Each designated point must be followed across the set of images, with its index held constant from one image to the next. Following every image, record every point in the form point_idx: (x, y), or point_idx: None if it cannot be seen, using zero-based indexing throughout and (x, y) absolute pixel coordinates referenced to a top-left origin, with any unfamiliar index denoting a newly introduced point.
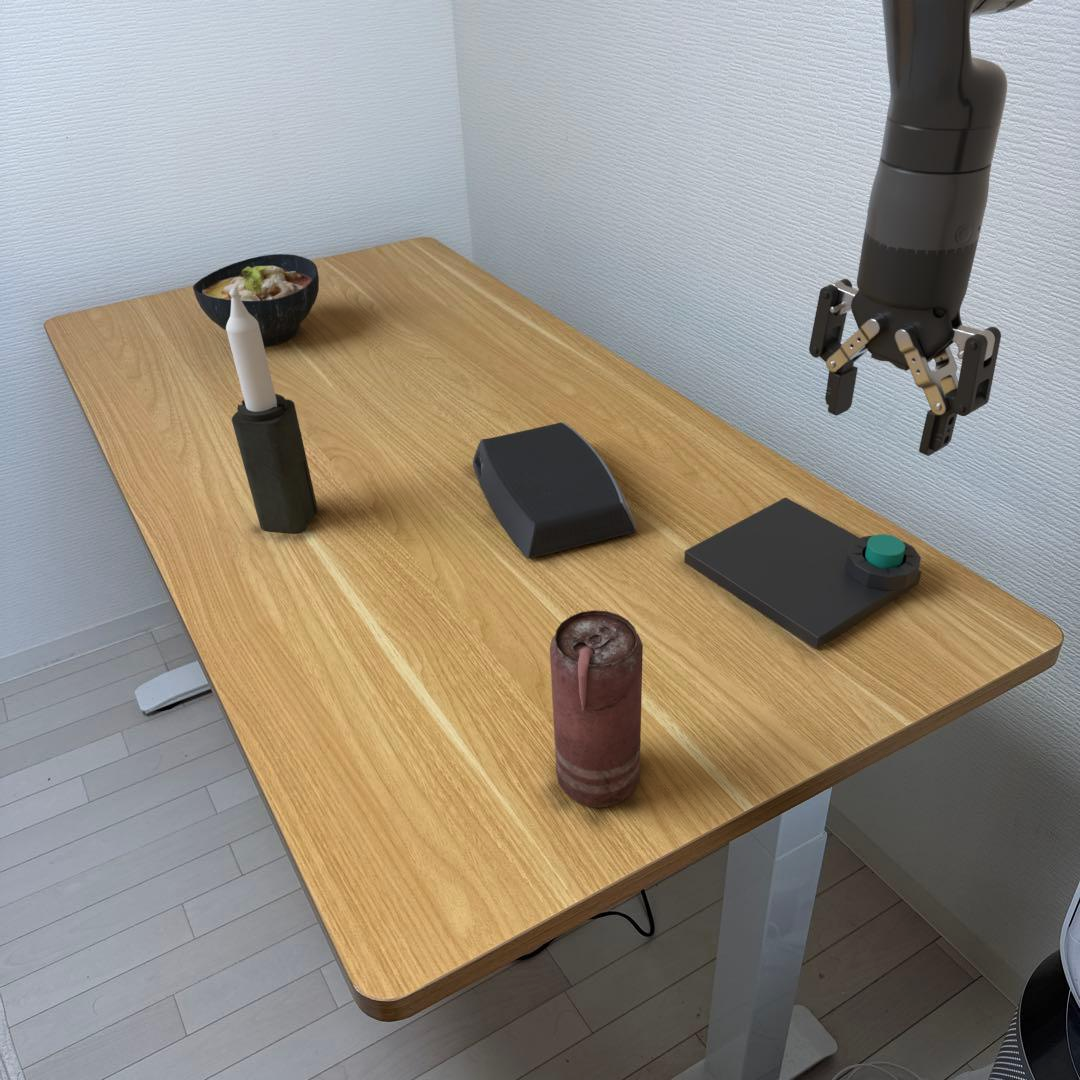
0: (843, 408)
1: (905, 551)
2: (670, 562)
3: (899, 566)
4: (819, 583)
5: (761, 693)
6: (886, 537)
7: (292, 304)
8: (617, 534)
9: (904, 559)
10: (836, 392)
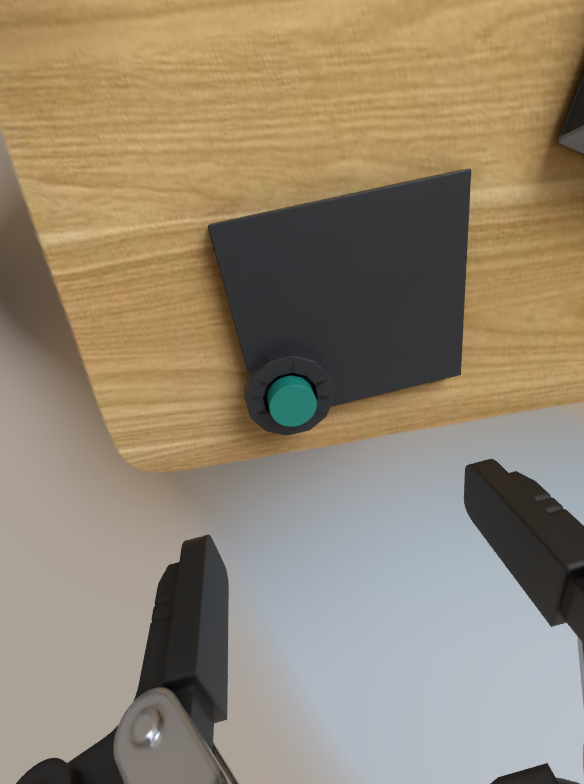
0: (471, 494)
1: None
2: (472, 150)
3: None
4: (303, 304)
5: (157, 73)
6: (305, 415)
7: None
8: (577, 95)
9: None
10: (522, 513)
